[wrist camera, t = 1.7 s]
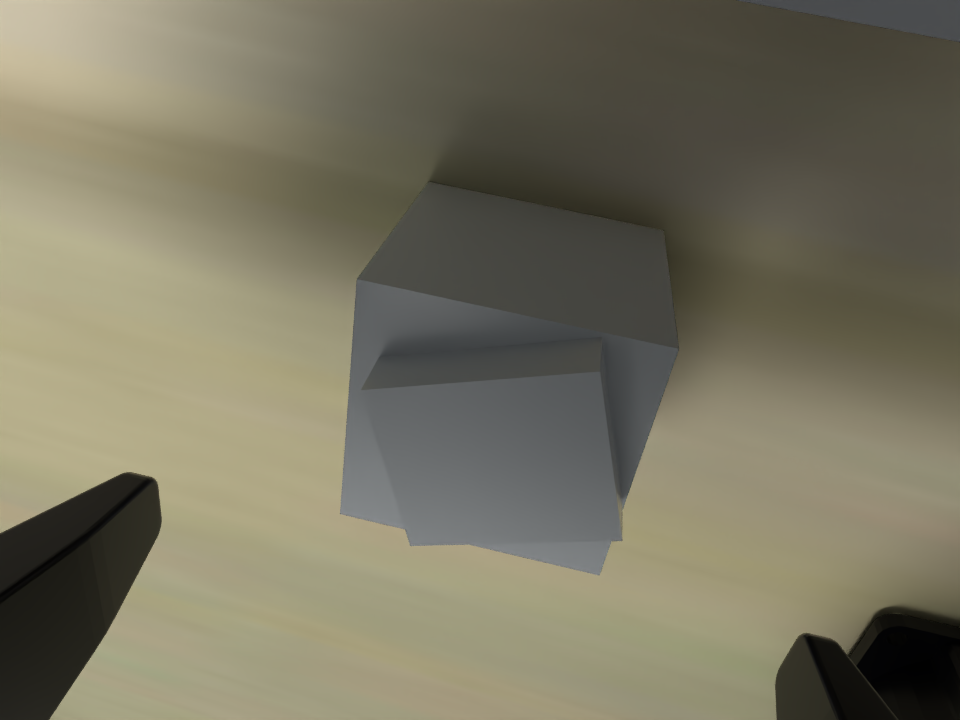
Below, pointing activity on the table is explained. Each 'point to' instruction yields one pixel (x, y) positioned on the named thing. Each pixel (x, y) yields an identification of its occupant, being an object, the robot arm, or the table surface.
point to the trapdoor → (885, 14)
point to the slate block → (506, 375)
